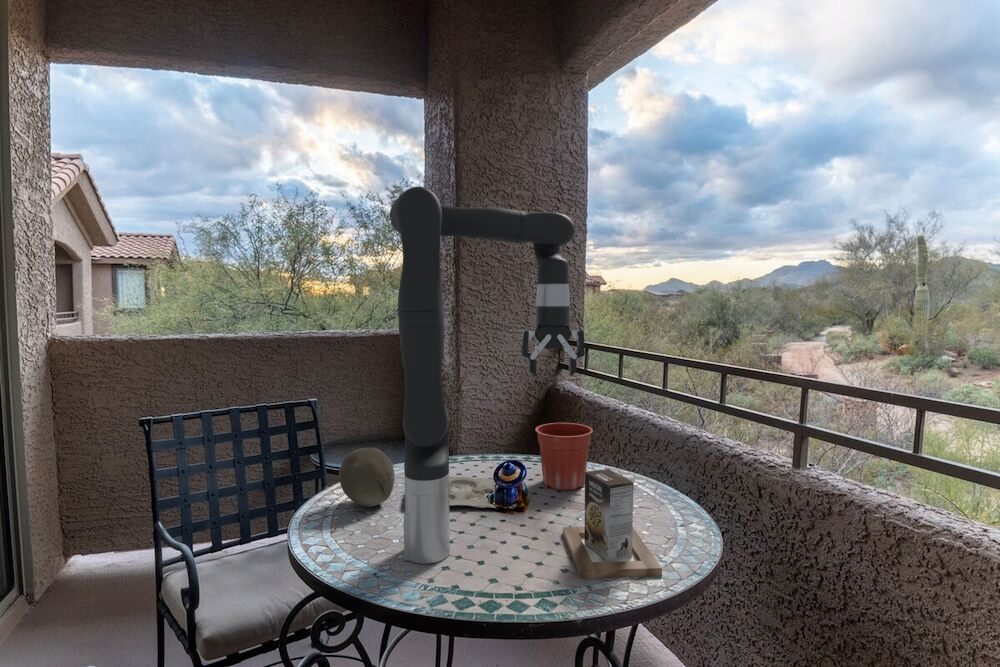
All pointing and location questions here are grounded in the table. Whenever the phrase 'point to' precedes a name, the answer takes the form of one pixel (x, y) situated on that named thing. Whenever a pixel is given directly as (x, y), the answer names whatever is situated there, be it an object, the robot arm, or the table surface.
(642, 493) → the table surface
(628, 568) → the walnut frame
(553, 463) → the flower pot
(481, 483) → the stone relief
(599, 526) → the coffee box
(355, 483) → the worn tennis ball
